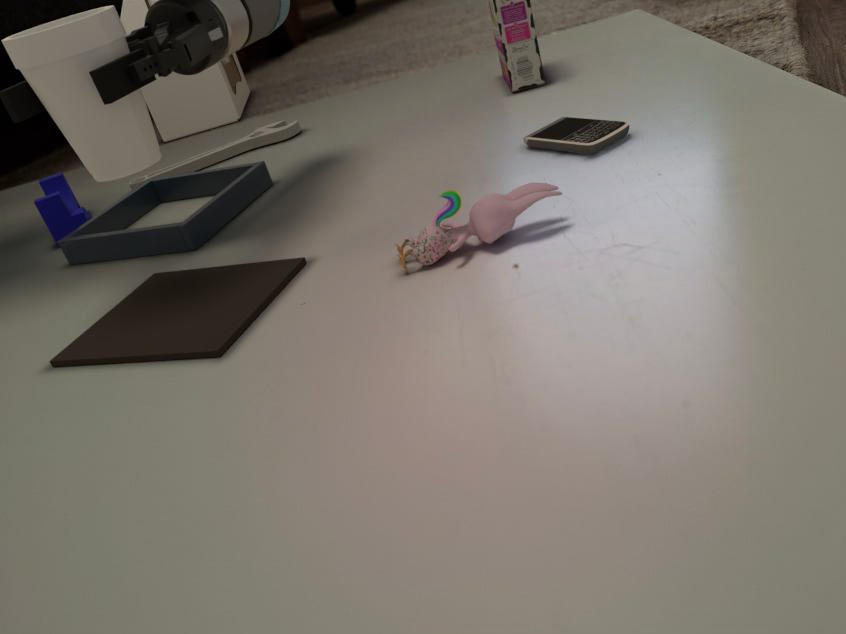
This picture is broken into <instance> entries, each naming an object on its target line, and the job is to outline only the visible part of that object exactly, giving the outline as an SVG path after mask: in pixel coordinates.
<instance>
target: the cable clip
mask: <svg viewBox="0 0 846 634" xmlns="http://www.w3.org/2000/svg"><path fill="white" fill-rule="evenodd" d="M38 184H39V186H40V187H41V189H42V192H43V193H44V196H41V197H38V198H36V199H34V200H33V204H34V205H35V207H36V209H37V211H38V213H39V214H40V216H41V218H42V220H43V222H44V224H45V225H46V227H47V229H48V231H49V233H50V234H51V236H52V238H53V239H54V242H55V243H56V245H57V247H58V248H60V246H59V244H58V241H59V240H61V239H62V238H64V237H65V236H66V235H68V234H69V233H71V232H72V231H74V230H75V229H77V228H78V227H80V226H81V225H83V224H84V223H86V222H87V221H88V220H90V219H91V218H93V217H94V216H93V214H92V213H91V211H90V210H87V209H86V208H85V206H82V207H81V205H80V203H79V200H78V199H77V197H76V195H75V194H74V191H73V190H72V188H71V186H70V184H69V182H68V180H67V178H66V177H65V174H64V172H62V171H61V172H57V173H56V174H53V175H50V176H47V177H43V178H41V179H39V180H38Z"/></svg>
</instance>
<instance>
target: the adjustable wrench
mask: <svg viewBox="0 0 846 634" xmlns="http://www.w3.org/2000/svg"><path fill="white" fill-rule="evenodd" d="M301 131H302V128H301V125H300V123H299V120H297V119H296V120H294V121H292V122H289V123H288V124H287V121H286V120H285V119H284V120H283V119H282V120H278V121H276V122H272V123H269V124H267V125H264V126H262V127H258V128H257V127H256V129H255V130H254V131H252V132H251V133H249V134H247V135H246V136H244V137H242V138H239V139H237V140H234V141H231V142H228V143H225V144H224V145H220V146H218V147H215V148H213V149H210V150H208V151H205V152H202V153H199V154H197V155H195V156H192V157H190V158H186V159H184V160H182V161H179V162H176V163H173V164H171V165H169V166H166V167H163V168H161V169H158V170H155V171H152V172H150V173H147V174H145V175H142V176H140V177H136V178H134V179H133V180H131V181H129V182H128V185H129V187H130V188H131V191H132V190H134V189H135V188H137V187H138V186H140V185H141V184H143V183H144V182H146V181H147V180H149V179H155V178H160V177H166V176H173V175H179V174H185V173H192V172H198V171H200V170H201V169H204V168H206V167H209V166H212V165H214V164H217V163H219V162H223V161H224V160H227V159H230V158H232V157H234V156H237V155H240V154H242V153H245V152H248V151H251V150H253V149H256V148H260V147H263V146H267V145H271V144H274V143H279V142H282V141H285V140H288V139H290V138H292V137H294V136H295V135H297V134H299V133H300V132H301Z"/></svg>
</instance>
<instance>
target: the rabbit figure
mask: <svg viewBox="0 0 846 634" xmlns="http://www.w3.org/2000/svg"><path fill="white" fill-rule="evenodd" d="M557 190H559V186H557V185H555V184H552V183H548V182H547V183H546V182H540V181H539V182H538V181H537V182H536V181H535V182H534V181H533V182H529V183H526V184H523V185H520V186H517V187H516V188H513V189H512V190H511V191H509V192H508V193H506V194H505V193H504V194H501V193H490V194H487V195H485V196H483V197H481V198H480V199H478V200H477V201H476V202H474V204H473V205H472V206H471V208H470V211H469V221H468V222H467V223H466V224H461V223H458V222H454V221H443V220H446V219H449V218H451V217H453V216H455V215H456V214H457V213H458V212H459V211H460V209H461V206H462V198H461V196H460V194H459V193H458V192H457V191H456V190H451V189H450V190H445V191H443V192H442V193H441V194H440V195H438V198H442V199H443V198H444V199H446V200H447V202H446V203H445V204H444V205H441V207H440V208H439V209H438V210H437V212H436V213H435V215H434V218H433V220H432V222H431V224H429V225H427V226H425V227H424V228H422V229H421V230H420V232H419V234H418V236H416V237H413V238H410V237H406V238H404V240H403V242H402V243H401V245H398V244H397V243H394V245H395V246H396V247H397V249H396V250H397V252H398V254H396V256H397V257H399V258H398V261H399V263H400V266H401V267H402V268H403V272H405V274H407V273H408V269H409V268H408V266H407V265H406V259H407V258H408V256H411V257H413V258H414V259H415V260H416V261H417V262H418V263H420V264H421V265H422V266H433V265H434V264H436V263H437V262H438V261H439V260H441V258H443V257H444V256H445V255H446V254H447V253H448V252H449V251H450V252H451V253H452V252H455V251H456V250H458V248H461V247H462V246H463V245H464V244H465V243H466V241H467V240H468V239H469V238H470V237H472V236H475V237H477V240H478V241H479V242H485V243H487V244H488V245H492V244H493V243H494V242H495V241H498V240H499V238H500V237H501V236H503V235H506V234H507V233H509V232H510V231H511V230H513V228H514V226H515V223H516V219H517V218H518V217H519V216H521V214H523V213H524V212H525V211H526V210H527V209H530V207H532V206H533V205H534V204H536V203H537V202H539V201H542V200H543V199H545V198H549V197H557V196H561V195H563V192H562V191H560V190H559V191H557ZM441 222H442V223H441ZM406 246H409V247H410V248H407V250H406V251H405V253H404V248H405V247H406Z"/></svg>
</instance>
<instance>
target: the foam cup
mask: <svg viewBox="0 0 846 634" xmlns="http://www.w3.org/2000/svg"><path fill="white" fill-rule="evenodd" d="M118 13H119V12H118V11H117V9H116V6H115V5H113V4H112V5H105V6H100V7H98V8H93V9H89V10H85V11H83V12H78V13H75V14H71V15H68V16H65V17H61V18H59V19H58V18H57V19H55V20H52V21H49V22H46V23H42V24H39V25H37V26H34V27H31V28H28V29H25V30H22V31H20V32H17V33H15V34H11V35H8V36H6V37H5V38H3V39H1V43H2V45H3V47H4V49H5V51H6V53H7V54H8V56H9V58H10V61H11V62H12V64H13V66H14V68H15V69H16V70H19V72H20V73H21V74H22V76H23V78H24V79H25V80H27V82H28V83H29V84H30V86H31V87H32V89H33V90H34V92H35V93H36V95H37V96H38V98H39V99H40V101H41V102H42V104H43V105H44V107H45V108H46V110H45V111H47V113H48V114H49V116H50V117H51V118H52V120H53V122H54V123H55V124H56V126H57V127H58V129H59V130H60V131H61V133H62V135H63V136H64V138H65V139H66V141H67V142H68V144H69V145H70V146H71V148H72V149H73V151H74V153H75V154H76V155H77V156H78V157H77V158H78V159H79V160H80V162H82V164H83V166H84V167H85V169H86V170H87V171H88V173H89V174H90V175H91V176H92V178H93V180H94V181H96V182H98V183H103V182H112V181H115V180H119V179H123V178H126V177H129V176H131V175H134V174H137V173H140V172H142V171H143V170H146V169H148V168H150V167H152V166H154V165H155V164H157V163H158V162H159V161H160V160H162V156H163V155H162V152H161V148H160V145H159V141H158V138H157V135H156V131H155V128H154V124H153V122H152V119H151V116H150V115H151V114H150V113H149V112H150V111H149V108H148V106H147V103H146V101H145V99H144V96H143V93H142V89H141V88H140V89H138V90H136V91H134V92H132V93H130V94H128V95H127V96H125V97H123V98H121V99H119V100H117V101H115V102H113V103H111V104H107V105H104V103H103V101H102V99H101V97H100V95H99V92H98V90H97V88H96V86H95V84H94V82H93V80H92V78H91V76H90V74H89V72H90V71H92V70H94V69H96V68H98V67H101V66H103V65H105V64H107V63H109V62H111V61H113V60H116V59H118V58H120V57H122V56H124V55H126V54H128V53H130V51H129V48H128V45H127V41H126V38H125V34H126V31H125V29H124V27H123V25H122V22H121V20H120V15H119V14H118Z"/></svg>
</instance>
